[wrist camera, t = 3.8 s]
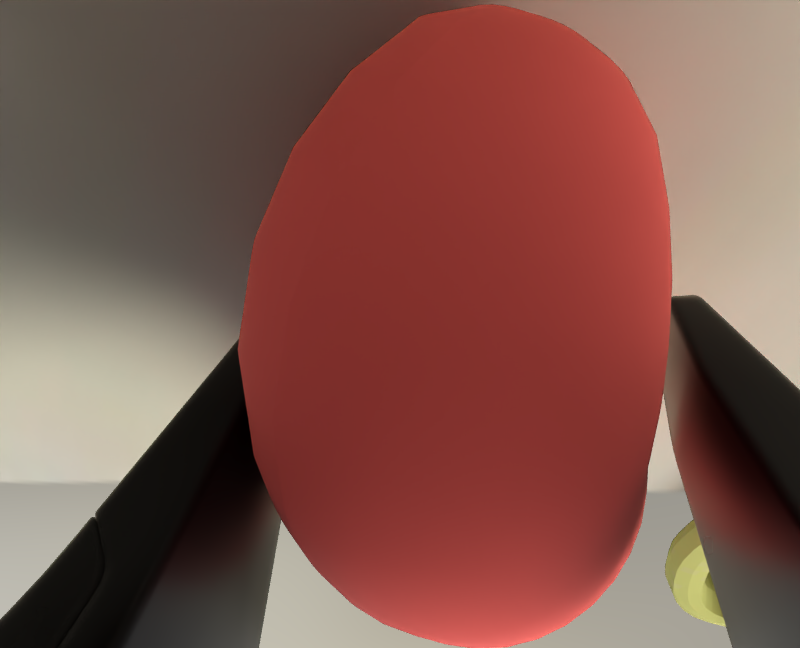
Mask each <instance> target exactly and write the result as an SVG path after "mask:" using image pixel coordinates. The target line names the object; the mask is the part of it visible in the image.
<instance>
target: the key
mask: <svg viewBox="0 0 800 648" xmlns="http://www.w3.org/2000/svg"><path fill="white" fill-rule="evenodd" d="M665 575H666V578H667V580H668V583H669V585H670V588H671V590H672V593H673V595H674V597H675V600H676V602H677V603H678V604H679V605H680V607H681V608H682V609H683V610H684V611H685V612H687V613H689V614H690V615H692V616H693V617H695V618H698V619H701V620H703V621H707V622H710V623H713V624H717V625H721V626H725V627H726V625H725V621H724V618H723V615H722V611H721V608H720V605H719V601H718V598H717V595H716V591H715V588H714V585H713V581H712V578H711V575H710V572H709V568H708V565H707V562H706V558H705V555H704V552H703V548H702V545H701V542H700V538H699V535H698V532H697V528H696V525H695V522H694V520H692V521H691V522H690V523H689V524H688V525H687V526H686V527H684V529H682V530H681V531H680V532H679V533H678V535H677V536H676V537H675V538H674V539H673V541H672V543H671V546H670V549H669V552H668V556H667V560H666V564H665Z"/></svg>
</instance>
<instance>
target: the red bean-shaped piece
mask: <svg viewBox="0 0 800 648" xmlns="http://www.w3.org/2000/svg"><path fill="white" fill-rule="evenodd" d="M671 293H672V263H671V239H670V216H669V204H668V198H667V192H666V186H665V181H664V175H663V169H662V163H661V157H660V151H659V146H658V140H657V135H656V133H655V131H654V129H653V127H652V125H651V123H650V121H649V119H648V117H647V115H646V113H645V111H644V109H643V107H642V105H641V103H640V101H639V99H638V97H637V95H636V93H635V91H634V89H633V87H632V85H631V83H630V81H629V79H628V78H627V77H626V75H625V74H624V73H623V71H622V70H621V69H620V68H619V67H618V66H617V65H616V64H615V63H614V62H613V61H612V60H611V59H610V58H608V57H607V56H606V55H605V54H604V53H602V52H601V51H600V50H599V49H597V48H596V47H595V46H594V45H592V44H591V43H590V42H589V41H587V40H586V39H585V38H584V37H582V36H581V35H579V34H578V33H577V32H575V31H573V30H572V29H570V28H568V27H567V26H565V25H563V24H561V23H558V22H556V21H554V20H551V19H548V18H545V17H542V16H539V15H536V14H532V13H529V12H526V11H523V10H519V9H515V8H511V7H507V6H500V5H493V4H491V5H477V6H471V7H466V8H460V9H454V10H448V11H442V12H436V13H430V14H426V15H422V16H419V17H418V18H417V19H416V20H414V21H413V22H412V23H411V24H409V25H408V26H407V27H406V28H404V29H403V30H402V31H401V32H399V33H398V34H397V35H396V36H394V37H393V38H392V39H390V40H389V41H388V42H387V43H385V44H384V45H383V46H381V47H380V48H379V49H378V50H376V51H375V52H374V53H373V54H371V55H370V56H369V57H367V58H366V59H365V60H364V61H362V62H361V63H360V64H359V65H357V66H356V67H355V68H353V69H352V70H351V71H350V72H349V73H348V75H347V76H346V77H345V79H344V80H343V81H342V83H341V84H340V85H339V87H338V88H337V89H336V91H335V92H334V93H333V95H332V96H331V97H330V99H329V100H328V101H327V103H326V104H325V105H324V107H323V108H322V109H321V111H320V112H319V113H318V115H317V116H316V117H315V119H314V120H313V121H312V123H311V124H310V125H309V127H308V128H307V129H306V131H305V132H304V133H303V135H302V136H301V137H300V139H299V140H298V141H297V143H296V144H295V145H294V147H293V149H292V151H291V154H290V156H289V158H288V161H287V163H286V165H285V168H284V170H283V172H282V175H281V177H280V180H279V182H278V184H277V187H276V189H275V191H274V194H273V196H272V198H271V201H270V203H269V206H268V208H267V210H266V213H265V215H264V217H263V220H262V222H261V224H260V227H259V229H258V231H257V234H256V236H255V239H254V244H253V249H252V255H251V262H250V268H249V275H248V282H247V289H246V296H245V303H244V310H243V316H242V323H241V330H240V337H239V344H238V355H239V362H240V369H241V375H242V382H243V388H244V395H245V402H246V408H247V415H248V421H249V428H250V434H251V441H252V447H253V454H254V458H255V460H256V463H257V466H258V468H259V471H260V473H261V476H262V478H263V481H264V483H265V485H266V488H267V490H268V493H269V495H270V498H271V500H272V502H273V504H274V506H275V509H276V511H277V512H278V514H279V516H280V518H281V520H282V522H283V523H284V525H285V526H286V528H287V529H288V531H289V532H290V534H291V535H292V537H293V538H294V540H295V541H296V543H297V544H298V545H299V547H300V548H301V550H302V551H303V553H304V554H305V555H306V557H307V558H308V560H309V561H310V562H311V564H312V565H313V566H314V567H315V569H316V570H317V571H318V572H319V573H320V574H321V575H322V576H323V577H324V578H325V579H326V580H327V581H328V582H329V583H330V584H331V585H332V586H334V587H335V588H336V589H337V590H338V591H339V592H340V593H341V594H342V595H343V596H344V597H345V598H346V599H347V600H348V601H349V602H351V603H352V604H353V605H354V606H356V607H357V608H359V609H360V610H362V611H364V612H365V613H367V614H368V615H370V616H372V617H373V618H375V619H376V620H378V621H380V622H381V623H383V624H385V625H388V626H390V627H393V628H396V629H398V630H401V631H404V632H407V633H409V634H412V635H415V636H418V637H422V638H425V639H429V640H433V641H436V642H439V643H443V644H448V645H454V646H460V647H467V648H501V647H509V646H513V645H517V644H521V643H525V642H529V641H533V640H536V639H539V638H541V637H543V636H545V635H547V634H549V633H551V632H553V631H555V630H557V629H559V628H561V627H564V626H565V625H567V624H568V623H570V622H571V621H572V620H574V619H575V618H576V617H578V616H579V615H580V614H582V613H583V612H584V611H586V610H587V609H588V608H590V607H591V606H592V605H593V604H594V603H595V602H596V601H597V600H598V599H599V597H600V596H601V595H602V594H603V593H604V592H605V591H606V589H607V588H608V587H609V586H610V585H611V584H612V583H613V582H614V580H615V579H616V577H617V576H618V574H619V572H620V570H621V569H622V567H623V565H624V563H625V562H626V560H627V558H628V557H629V555H630V553H631V550H632V548H633V545H634V542H635V540H636V537H637V534H638V532H639V529H640V526H641V523H642V517H643V511H644V505H645V499H646V493H647V474H648V465H649V461H650V456H651V451H652V447H653V442H654V438H655V433H656V428H657V424H658V419H659V414H660V409H661V403H662V396H663V390H664V382H665V373H666V365H667V357H668V348H669V335H670V314H671Z"/></svg>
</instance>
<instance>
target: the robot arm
mask: <svg viewBox="0 0 800 648" xmlns="http://www.w3.org/2000/svg"><path fill="white" fill-rule="evenodd" d="M238 344H239V339H238V341H237V342H236V343H235V344H234V345H233V347H232V348H231V349H230V350H229V351H228V353H227V354H226V355H225V356H224V358H223V359H222V360H221V361H220V362H219V364H218V365H217V366H216V367H215V368H214V370H213V371H212V372H211V373H210V374H209V376H208V377H207V378H206V379H205V381H204V382H203V383H202V384H201V385H200V387H199V388H198V389H197V390H196V391H195V393H194V394H193V395H192V396H191V397H190V399H189V400H188V401H187V402H186V404H185V405H184V406H183V407H182V408H181V410H180V411H179V412H178V413H177V414H176V416H175V417H174V418H173V419H172V420H171V422H170V423H169V424H168V425H167V427H166V428H165V429H164V430H163V431H162V433H161V434H160V435H159V436H158V437H157V439H156V440H155V441H154V442H153V443H152V445H151V446H150V447H149V448H148V450H147V451H146V452H145V453H144V454H143V456H142V457H141V458H140V459H139V460H138V462H137V463H136V464H135V465H134V466H133V468H132V469H131V470H130V471H129V473H128V474H127V475H126V476H125V477H124V479H123V480H122V481H121V482H120V483H119V485H118V486H117V487H116V488H115V489H114V491H113V492H112V493H111V494H110V496H109V497H108V498H107V499H106V500H105V502H104V503H103V504H102V505H101V506H100V508H99V509H98V510H97V512H96V514H95V516H96V517H92V518H90V519H89V521H88V522H87V523H86V524H85V525H84V527H83V528H82V529H81V530H80V532H79V533H78V534H77V535H76V537H75V538H74V539H73V540H72V541H71V542H70V544H69V545H68V546H67V547H66V548H65V549H64V551H63V552H62V553H61V554H60V555H59V556H58V557H57V559H56V560H55V561H54V562H53V563H52V564H51V566H50V567H49V568H48V569H47V570H46V571H45V572H44V574H43V575H42V576H41V577H40V578H39V579H38V580H37V581H36V582H35V583H34V584H33V585H32V586H31V588H30V589H29V590H28V591H27V592H26V593H25V594H24V595H23V596H22V597H21V598H20V599H19V600H18V601H17V602H16V604H15V605H14V606H13V607H12V608H11V609H10V610H9V611H8V612H7V613H6V614H5V615H4V616H3V617H2V618H1V619H0V648H259V644H260V638H261V632H262V626H263V621H264V615H265V609H266V604H267V598H268V592H269V586H270V581H271V574H272V569H273V563H274V558H275V551H276V546H277V540H278V535H279V529H280V523H281V518H280V516H279V514H278V512H277V511H276V509H275V506H274V504H273V502H272V500H271V498H270V495H269V493H268V490H267V488H266V485H265V483H264V481H263V478H262V476H261V473H260V471H259V468H258V466H257V463H256V460H255V458H254V454H253V447H252V441H251V434H250V428H249V421H248V415H247V408H246V402H245V395H244V388H243V382H242V375H241V369H240V362H239V355H238ZM663 393H664V399H665V405H666V411H667V417H668V423H669V429H670V435H671V440H672V445H673V450H674V454H675V458H676V462H677V465H678V469H679V472H680V475H681V479H682V482H683V485H684V489H685V492H686V495H687V498H688V502H689V505H690V508H691V512H692V515H693V518H694V522H695V525H696V528H697V532H698V535H699V538H700V542H701V545H702V548H703V552H704V555H705V558H706V562H707V565H708V568H709V572H710V575H711V578H712V581H713V585H714V588H715V591H716V595H717V598H718V601H719V605H720V608H721V611H722V615H723V618H724V621H725V625H726V628H727V631H728V635H729V638H730V641H731V644H732V647H733V648H800V390H799V389H798V388H797V387H796V386H795V385H794V384H793V383H792V382H791V381H790V380H789V379H788V378H787V377H785V376H784V375H783V374H782V373H781V372H780V371H779V370H778V369H777V368H776V367H775V366H774V365H773V364H772V363H771V362H769V361H768V360H767V359H766V358H765V357H764V356H763V355H762V354H761V353H760V352H759V351H758V350H757V349H756V348H755V347H753V346H752V345H751V344H750V343H749V342H748V341H747V340H746V339H745V338H744V337H743V336H742V335H741V334H740V333H738V332H737V331H736V330H735V329H734V328H733V327H732V326H731V325H730V324H729V323H728V322H727V321H726V320H725V319H724V318H722V317H721V316H720V315H719V314H718V313H717V312H716V311H715V310H714V309H713V308H712V307H711V306H710V305H709V304H708V303H706V302H705V301H704V300H703V299H702V298H700V297H699V296H696V295H688V296H673V297H671V314H670V335H669V348H668V357H667V365H666V373H665V382H664V390H663Z"/></svg>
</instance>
